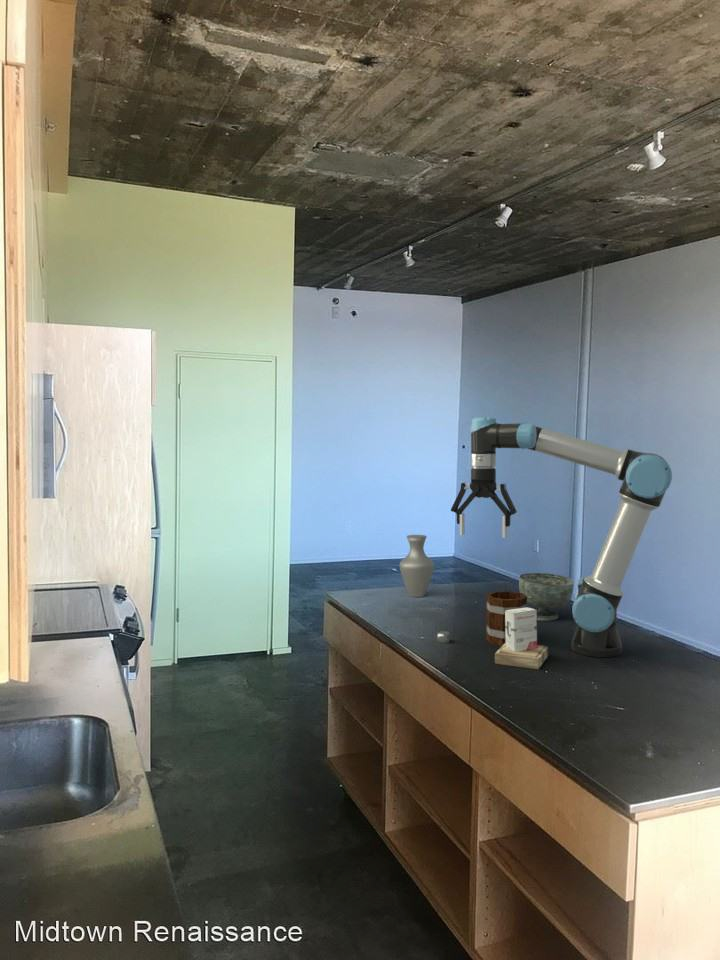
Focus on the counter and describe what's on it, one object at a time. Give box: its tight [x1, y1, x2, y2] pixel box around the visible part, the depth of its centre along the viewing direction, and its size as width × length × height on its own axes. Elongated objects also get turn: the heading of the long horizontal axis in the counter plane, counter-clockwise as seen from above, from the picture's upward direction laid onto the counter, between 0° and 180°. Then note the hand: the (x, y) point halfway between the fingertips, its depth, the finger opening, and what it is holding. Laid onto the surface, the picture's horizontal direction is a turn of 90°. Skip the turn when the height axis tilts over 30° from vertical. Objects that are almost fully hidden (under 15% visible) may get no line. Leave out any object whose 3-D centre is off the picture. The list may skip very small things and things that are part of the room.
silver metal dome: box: [436, 630, 450, 645], centre depth 245 cm, size 4×4×3 cm
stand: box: [494, 643, 549, 670], centre depth 225 cm, size 13×13×4 cm
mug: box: [485, 590, 528, 647], centre depth 248 cm, size 20×14×15 cm
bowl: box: [518, 572, 575, 622], centre depth 273 cm, size 20×19×15 cm
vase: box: [399, 534, 435, 598], centre depth 309 cm, size 14×14×25 cm
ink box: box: [505, 606, 538, 652], centre depth 225 cm, size 9×5×12 cm, turn 115°
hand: (483, 535), depth 231 cm, fingers open, 13 cm apart
